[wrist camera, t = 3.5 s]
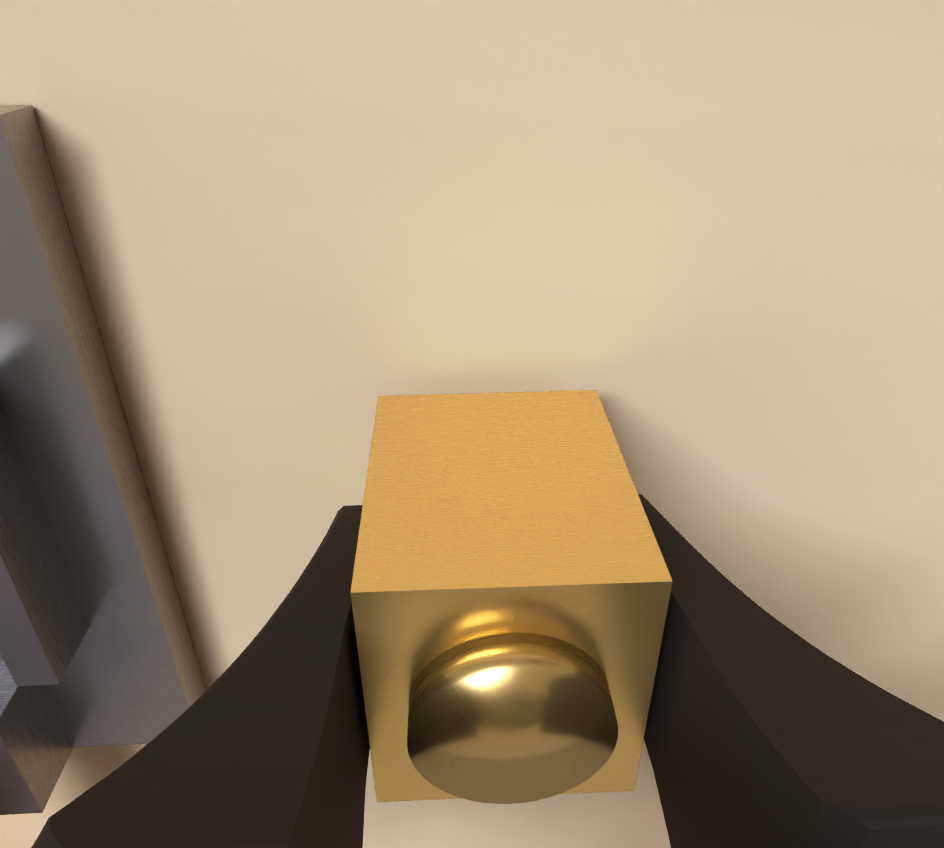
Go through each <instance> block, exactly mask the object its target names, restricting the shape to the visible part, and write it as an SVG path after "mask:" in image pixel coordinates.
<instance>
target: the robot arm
mask: <svg viewBox="0 0 944 848" xmlns="http://www.w3.org/2000/svg"><path fill="white" fill-rule="evenodd" d="M638 496H639V498H640V501H641V503H642V506H643V508H644V511H645V513H646V516H647V518H648V521H649V523H650V526H651V528H652V531H653V533H654V536H655V538H656V541H657V543H658V546H659V548H660V551H661V553H662V556H663V558H664V561H665V563H666V566H667V568H668V571H669V573H670V576H671V578H672V581H673V582H672V588H671V593H670V598H669V604H668V609H667V615H666V620H665V625H664V631H663V636H662V642H661V647H660V652H659V658H658V663H657V669H656V674H655V679H654V685H653V690H652V696H651V701H650V706H649V712H648V717H647V722H646V728H645V733H644V741H645V744H646V747H647V750H648V754H649V757H650V760H651V764H652V767H653V771H654V775H655V779H656V783H657V788H658V792H659V796H660V800H661V805H662V809H663V813H664V818H665V822H666V826H667V831H668V835H669V840H670V845H671V848H944V722H943V721H941V720H939V719H937V718H935V717H933V716H932V715H930V714H928V713H926V712H924V711H922V710H920V709H918V708H916V707H915V706H913V705H911V704H909V703H907V702H905V701H903V700H901V699H899V698H898V697H896V696H894V695H892V694H890V693H889V692H887V691H885V690H883V689H882V688H880V687H878V686H876V685H875V684H873V683H871V682H869V681H868V680H866V679H864V678H863V677H861V676H860V675H858V674H856V673H855V672H853V671H852V670H850V669H848V668H847V667H845V666H843V665H842V664H840V663H839V662H837V661H835V660H834V659H832V658H831V657H829V656H828V655H826V654H825V653H823V652H822V651H820V650H818V649H817V648H815V647H814V646H812V645H811V644H810V643H808V642H807V641H805V640H804V639H803V638H801V637H800V636H798V635H797V634H796V633H794V632H793V631H792V630H790V629H789V628H787V627H786V626H785V625H783V624H782V623H780V622H779V621H778V620H776V619H775V618H774V617H772V616H771V615H770V614H769V613H767V612H766V611H765V610H763V609H762V608H761V607H760V606H758V605H757V604H756V603H755V602H754V601H752V600H751V599H750V598H749V597H748V596H746V595H745V594H744V593H743V592H742V591H741V590H739V589H738V588H737V587H736V586H735V585H733V584H732V583H731V582H730V581H729V580H728V579H727V578H725V577H724V576H723V575H722V574H721V573H720V572H719V571H718V570H717V569H716V568H715V567H714V566H713V565H711V564H710V563H709V562H708V561H707V560H706V559H705V558H704V557H703V556H702V555H701V554H700V553H699V552H698V551H697V550H696V549H695V548H694V547H693V546H692V545H691V544H690V543H689V542H688V541H687V540H686V539H685V538H684V537H683V536H682V535H681V534H680V533H679V532H678V531H677V530H676V529H675V528H674V527H673V526H672V525H671V524H670V523H669V522H668V521H667V520H666V519H665V518H664V517H663V516H662V515H661V514H660V513H659V512H658V511H657V510H656V509H655V508H654V507H653V506H652V505H651V504H650V503H649V502H648V501H647V500H646V499H645V498H644V497H643V496H642V495H641V494H638ZM362 507H363V505H357V506H343V507H342V508H341V509H340V510H339V511H338V512H337V514H336V517H335V519H334V521H333V523H332V524H331V526H330V528H329V530H328V532H327V534H326V536H325V537H324V539H323V541H322V543H321V544H320V546H319V548H318V549H317V551H316V553H315V554H314V556H313V558H312V559H311V561H310V562H309V564H308V565H307V567H306V568H305V570H304V572H303V573H302V575H301V576H300V578H299V579H298V581H297V582H296V584H295V585H294V587H293V588H292V590H291V591H290V592H289V594H288V595H287V597H286V598H285V599H284V601H283V602H282V603H281V605H280V606H279V607H278V609H277V610H276V611H275V613H274V614H273V615H272V617H271V618H270V619H269V621H268V622H267V623H266V625H265V626H264V627H263V628H262V630H261V631H260V632H259V633H258V635H257V636H256V637H255V638H254V639H253V641H252V642H251V643H250V644H249V645H248V646H247V648H246V649H245V650H244V651H243V652H242V653H241V654H240V656H239V657H238V658H237V659H236V660H235V661H234V662H233V663H232V664H231V666H230V667H229V668H228V669H227V670H226V671H225V672H224V673H223V674H222V675H221V676H220V677H219V678H218V679H217V680H216V681H215V682H214V683H213V684H212V685H211V686H210V687H209V688H208V689H207V690H206V691H205V692H204V693H203V694H202V695H201V696H200V697H199V698H198V699H197V700H196V701H195V702H194V703H193V704H192V705H191V706H190V707H189V708H188V709H187V710H186V711H185V712H184V713H183V714H182V715H180V716H179V717H178V718H177V719H176V720H175V721H174V722H173V723H171V724H170V725H169V726H168V727H167V728H166V729H164V730H163V731H162V732H161V733H160V734H158V735H157V736H156V737H155V738H154V739H153V740H151V741H150V742H149V743H148V744H147V745H146V746H144V747H143V748H142V749H141V750H140V751H139V752H137V753H136V754H135V755H134V756H133V757H131V758H130V759H129V760H128V761H126V762H125V763H124V764H123V765H121V766H120V767H119V768H118V769H116V770H115V771H114V772H112V773H111V774H110V775H108V776H107V777H105V778H104V779H103V780H101V781H100V782H98V783H97V784H96V785H94V786H93V787H92V788H90V789H89V790H87V791H86V792H85V793H83V794H82V795H81V796H79V797H78V798H76V799H75V800H74V801H72V802H71V803H69V804H68V805H67V806H65V807H64V808H62V809H61V810H60V811H58V812H57V813H55V814H54V815H52V816H51V817H49V818H48V820H47V822H46V824H45V826H44V827H43V829H42V831H41V833H40V835H39V836H38V838H37V840H36V841H35V843H34V844H33V846H32V848H362V845H363V825H364V805H365V786H366V776H367V766H368V758H369V751H370V743H369V735H368V727H367V719H366V711H365V703H364V696H363V688H362V680H361V672H360V664H359V656H358V648H357V641H356V633H355V625H354V617H353V609H352V601H351V593H350V592H351V585H352V578H353V571H354V564H355V557H356V550H357V543H358V536H359V529H360V521H361V514H362Z"/></svg>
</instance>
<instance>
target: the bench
mask: <svg viewBox="0 0 944 848" xmlns="http://www.w3.org/2000/svg"><path fill="white" fill-rule="evenodd" d="M205 691H206V688H205V685H204V681H203V678H202V674H201V671H200V668H199V664H198V661H197V658H196V654H195V651H194V648H193V644H192V641H191V637H190V634H189V631H188V627H187V624H186V621H185V617H184V614H183V611H182V607H181V604H180V600H179V597H178V594H177V590H176V587H175V584H174V580H173V577H172V574H171V570H170V567H169V563H168V560H167V557H166V553H165V550H164V547H163V543H162V540H161V537H160V533H159V530H158V526H157V523H156V520H155V516H154V513H153V510H152V506H151V503H150V500H149V496H148V493H147V489H146V486H145V483H144V479H143V476H142V473H141V469H140V466H139V463H138V459H137V456H136V452H135V449H134V446H133V442H132V439H131V436H130V432H129V429H128V426H127V422H126V419H125V415H124V412H123V409H122V405H121V402H120V399H119V395H118V392H117V389H116V385H115V382H114V378H113V375H112V372H111V368H110V365H109V362H108V358H107V355H106V352H105V348H104V345H103V341H102V338H101V335H100V331H99V328H98V325H97V321H96V318H95V315H94V311H93V308H92V304H91V301H90V298H89V294H88V291H87V288H86V284H85V281H84V278H83V274H82V271H81V267H80V264H79V261H78V257H77V254H76V251H75V247H74V244H73V241H72V237H71V234H70V230H69V227H68V224H67V220H66V217H65V214H64V210H63V207H62V204H61V200H60V197H59V193H58V190H57V187H56V183H55V180H54V177H53V173H52V170H51V167H50V163H49V160H48V156H47V153H46V150H45V146H44V143H43V140H42V136H41V133H40V130H39V126H38V123H37V119H36V116H35V113H34V109H33V106H32V105H15V106H0V815H6V814H25V813H42V812H43V810H44V808H45V806H46V804H47V802H48V799H49V797H50V795H51V793H52V791H53V789H54V787H55V785H56V782H57V780H58V778H59V776H60V774H61V772H62V770H63V767H64V765H65V763H66V761H67V759H68V757H69V755H70V752H71V750H72V748H73V747H88V746H108V745H128V744H148V743H149V742H150V741H151V740H153V739H154V738H155V737H156V736H157V735H158V734H160V733H161V732H162V731H163V730H164V729H166V728H167V727H168V726H169V725H170V724H171V723H173V722H174V721H175V720H176V719H177V718H178V717H179V716H180V715H182V714H183V713H184V712H185V711H186V710H187V709H188V708H189V707H190V706H191V705H192V704H193V703H194V702H195V701H196V700H197V699H198V698H199V697H200V696H201V695H202V694H203V693H204V692H205Z"/></svg>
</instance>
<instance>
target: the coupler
mask: <svg viewBox="0 0 944 848" xmlns="http://www.w3.org/2000/svg"><path fill="white" fill-rule="evenodd" d="M672 582H673V581H672V578H671V576H670V573H669V571H668V568H667V566H666V563H665V561H664V558H663V556H662V553H661V551H660V548H659V546H658V543H657V541H656V538H655V536H654V533H653V531H652V528H651V526H650V523H649V521H648V518H647V516H646V513H645V511H644V508H643V506H642V503H641V501H640V498H639V496H638V493H637V491H636V488H635V486H634V483H633V481H632V478H631V476H630V473H629V471H628V468H627V466H626V463H625V461H624V458H623V456H622V453H621V451H620V448H619V446H618V443H617V441H616V438H615V436H614V433H613V431H612V428H611V426H610V423H609V421H608V418H607V416H606V413H605V410H604V408H603V405H602V403H601V400H600V398H599V395H598V393H597V390H588V391H550V392H511V393H473V394H434V395H395V396H378V402H377V409H376V416H375V423H374V430H373V437H372V444H371V451H370V458H369V465H368V472H367V479H366V486H365V493H364V500H363V507H362V514H361V521H360V529H359V536H358V543H357V550H356V557H355V564H354V571H353V578H352V585H351V592H350V593H351V601H352V609H353V617H354V625H355V633H356V641H357V648H358V656H359V664H360V672H361V680H362V688H363V696H364V703H365V711H366V719H367V727H368V735H369V743H370V751H371V759H372V766H373V774H374V782H375V790H376V798H377V802H389V801H411V800H433V799H456V798H464V799H468V800H472V801H477V802H484V803H496V804H511V803H523V802H530V801H536V800H540V799H544V798H548V797H551V796H555V795H558V794H568V793H591V792H613V791H634V787H635V782H636V776H637V771H638V766H639V760H640V755H641V749H642V744H643V739H644V733H645V728H646V722H647V717H648V712H649V706H650V701H651V696H652V690H653V685H654V679H655V674H656V669H657V663H658V658H659V652H660V647H661V642H662V636H663V631H664V625H665V620H666V615H667V609H668V604H669V598H670V593H671V588H672Z"/></svg>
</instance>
